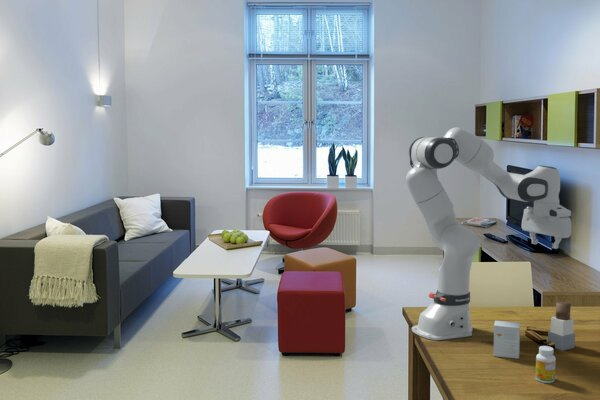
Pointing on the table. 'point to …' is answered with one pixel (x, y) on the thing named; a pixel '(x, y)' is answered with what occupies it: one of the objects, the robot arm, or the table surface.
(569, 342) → the base block
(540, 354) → the supplement bottle
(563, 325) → the top block
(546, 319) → the table surface
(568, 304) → the walnut cylinder
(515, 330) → the small box
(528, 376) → the table surface
